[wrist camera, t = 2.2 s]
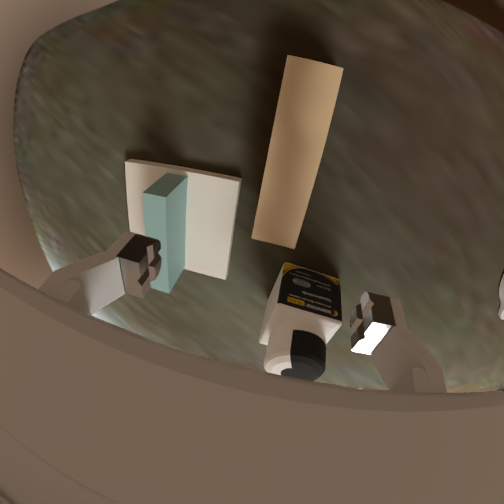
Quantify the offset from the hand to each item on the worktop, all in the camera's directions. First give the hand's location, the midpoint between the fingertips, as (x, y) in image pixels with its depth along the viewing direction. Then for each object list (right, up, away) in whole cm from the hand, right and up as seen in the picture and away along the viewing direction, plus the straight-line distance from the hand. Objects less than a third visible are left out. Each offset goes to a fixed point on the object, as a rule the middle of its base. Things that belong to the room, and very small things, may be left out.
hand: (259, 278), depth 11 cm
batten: (+4, +11, +14) cm, 18 cm away
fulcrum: (-9, +5, +21) cm, 23 cm away
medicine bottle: (+6, -4, +24) cm, 25 cm away
